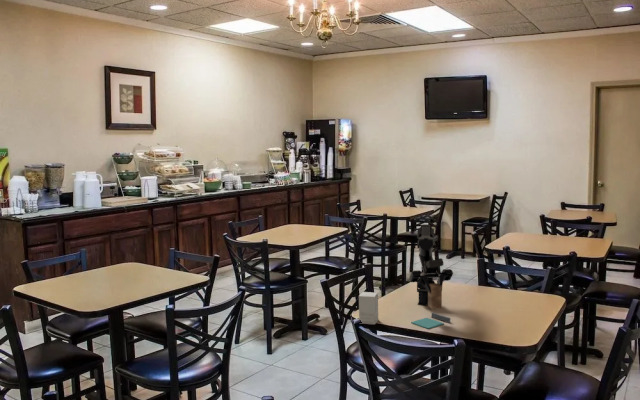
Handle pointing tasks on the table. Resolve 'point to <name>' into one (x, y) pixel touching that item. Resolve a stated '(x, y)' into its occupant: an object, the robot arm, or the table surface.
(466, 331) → the table surface
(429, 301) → the walnut pillar
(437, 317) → the low wall
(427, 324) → the mat
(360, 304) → the supplement box
